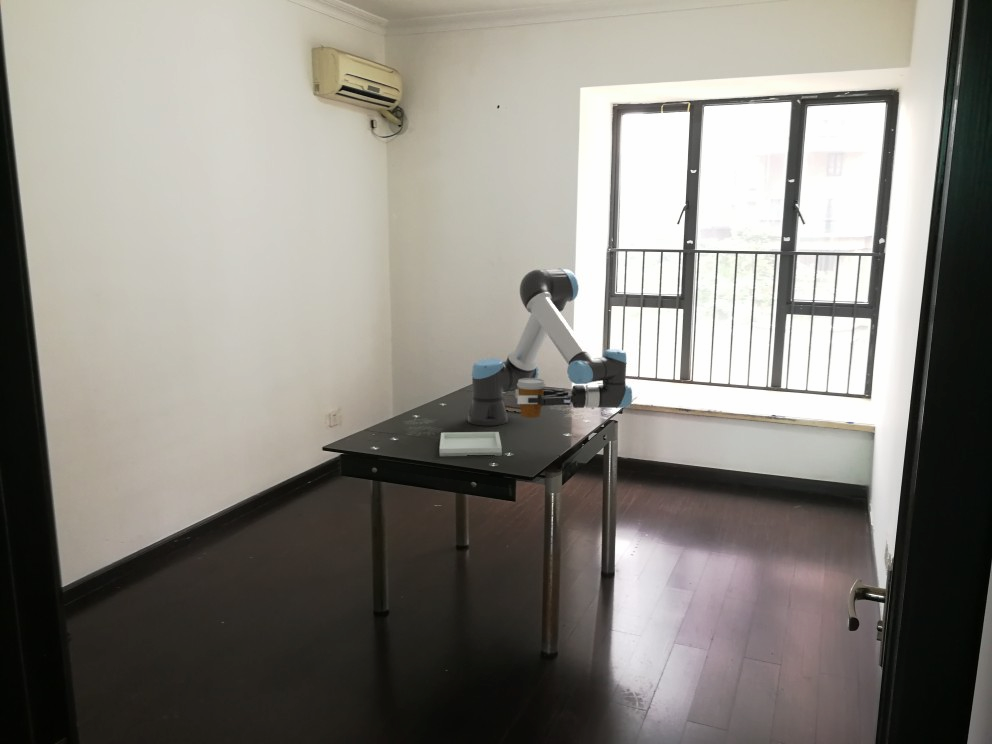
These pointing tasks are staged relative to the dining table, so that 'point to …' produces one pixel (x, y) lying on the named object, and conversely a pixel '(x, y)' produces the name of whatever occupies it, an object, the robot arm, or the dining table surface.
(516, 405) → the hardcover book
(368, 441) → the dining table surface
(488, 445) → the tray
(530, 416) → the disposable coffee cup
